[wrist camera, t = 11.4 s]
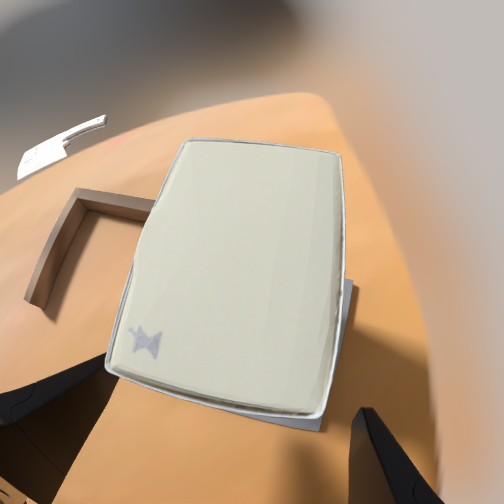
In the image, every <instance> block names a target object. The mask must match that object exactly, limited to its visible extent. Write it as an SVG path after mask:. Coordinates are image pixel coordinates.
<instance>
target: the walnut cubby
mask: <svg viewBox="0 0 504 504" xmlns="http://www.w3.org/2000/svg"><path fill="white" fill-rule="evenodd" d="M155 202H156V201H155V200H150V199H144V198H138V197H132V196H126V195H120V194H114V193H108V192H102V191H95V190H89V189H82V188H75V190H74V191H73V193H72V195H71V197H70V198H69V200H68V202H67V204H66V205H65V207H64V209H63V211H62V213H61V214H60V216H59V218H58V220H57V222H56V224H55V226H54V228H53V230H52V232H51V234H50V236H49V238H48V240H47V242H46V245H45V247H44V249H43V251H42V253H41V256H40V258H39V260H38V263H37V265H36V267H35V270H34V272H33V275H32V277H31V280H30V283H29V285H28V288H27V291H26V294H25V297H24V300H26V301H27V302H29V303H30V304H33V305H35V306H37V307H39V308H42V309H45V306H46V303H47V300H48V297H49V295H50V292H51V289H52V286H53V284H54V281H55V279H56V276H57V274H58V271H59V269H60V267H61V264H62V262H63V260H64V257H65V255H66V253H67V251H68V248H69V246H70V244H71V242H72V240H73V238H74V236H75V234H76V232H77V230H78V228H79V226H80V224H81V222H82V220H83V218H84V216H85V214H86V212H87V210H92V211H96V212H101V213H105V214H110V215H114V216H119V217H123V218H128V219H132V220H137V221H141V222H146V221H147V219H148V217H149V215H150V213H151V210H152V208H153V206H154V204H155Z"/></svg>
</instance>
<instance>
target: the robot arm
mask: <svg viewBox="0 0 504 504" xmlns="http://www.w3.org/2000/svg"><path fill="white" fill-rule="evenodd" d="M106 354H107V352H106V353H104V354H101V355H99V356H97V357H94V358H92V359H90V360H87V361H85V362H83V363H81V364H78V365H76V366H73V367H71V368H69V369H66V370H64V371H62V372H59V373H57V374H54V375H52V376H50V377H47V378H45V379H42V380H40V381H37V382H36V383H32V384H30V385H27V386H24V387H22V388H19V389H16V390H12V391H9V392H5V393H1V394H0V504H27V502H26V499H27V497H28V498H30V499H31V500H33V501H34V502H36V503H38V504H52V502H53V500H54V498H55V496H56V494H57V492H58V490H59V488H60V487H61V485H62V483H63V481H64V479H65V476H66V475H67V473H68V471H69V470H70V468H71V466H72V464H73V462H74V460H75V459H76V457H77V455H78V453H79V452H80V450H81V448H82V446H83V445H84V443H85V441H86V439H87V438H88V436H89V434H90V432H91V431H92V429H93V427H94V426H95V424H96V422H97V421H98V419H99V417H100V416H101V414H102V412H103V411H104V409H105V407H106V405H107V404H108V401H109V399H110V397H111V395H112V393H113V391H114V388H115V386H116V384H117V382H118V380H119V378H120V377H119V376H116V375H114V374H111V373H109V372H108V371H107V370H106V368H105V358H106ZM348 504H445V503H444V502H443V501H442V500H441V499H440V498H439V497H438V496H437V495H436V493H435V492H434V491H433V490H432V489H431V487H430V486H429V485H428V483H427V482H426V481H425V479H424V478H423V477H422V475H421V474H420V473H419V471H418V470H417V468H416V467H415V466H414V464H413V463H412V461H411V460H410V459H409V457H408V456H407V454H406V453H405V452H404V450H403V449H402V447H401V446H400V445H399V443H398V442H397V441H396V439H395V438H394V436H393V435H392V434H391V432H390V431H389V429H388V428H387V427H386V425H385V424H384V422H383V421H382V420H381V418H380V417H379V416H378V414H377V413H376V411H375V410H374V409H373V408H372V407H361V408H360V409H359V411H358V413H357V414H356V416H355V418H354V419H353V422H352V428H351V440H350V451H349V500H348Z"/></svg>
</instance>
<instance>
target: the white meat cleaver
mask: <svg viewBox="0 0 504 504" xmlns="http://www.w3.org/2000/svg"><path fill="white" fill-rule="evenodd" d="M106 122H107V117H106V115H103V116H100V117H98V118H96V119H93V120H90V121H88V122H86V123H85V124H84V123H83V124H81V125H79V126H77V127H74V128H72V129H70V130H69V131H65V132H63V133H61V134H59V135H57V136H55V137H53V138H51V139H49V140H47V141H45V142H43V143H41V144H39V145H38V146H36V147H34V148H32V149H31V150H29V151H27V152H25V154H24V156H23V158H22V161H21V163H20V165H19V168H18V176H17V180H20V179H22V178H23V177H25V176H27V175H29V174H31V173H33V172H35V171H37V170H39V169H41V168H43V167H45V166H47V165H49V164H52V163H54V162H56V161H58V160H60V159H63V158H65V157H67V153H66V148H67V147H69V146H70V145H71V144H70V143H69V141H70V140H72V139H73V138H75V137H77V136H79V135H82V134H84V133H86V132H89V131H92V130H95V129H98V128H101V127H105V125H106Z"/></svg>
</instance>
